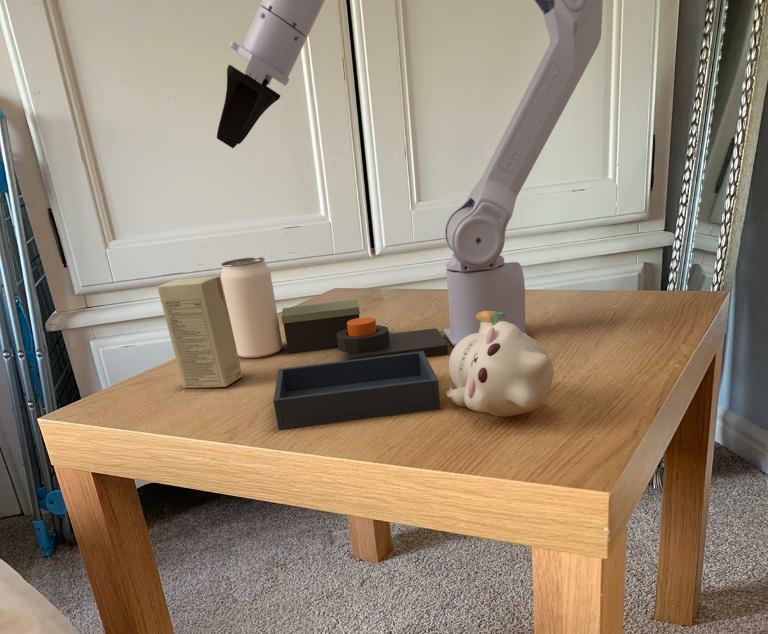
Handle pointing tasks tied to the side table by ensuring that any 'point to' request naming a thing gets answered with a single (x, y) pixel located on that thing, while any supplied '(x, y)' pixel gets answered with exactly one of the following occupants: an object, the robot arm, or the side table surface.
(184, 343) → the cosmetic box
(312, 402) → the tray
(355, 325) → the button
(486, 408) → the cat figurine
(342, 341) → the control block
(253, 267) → the can
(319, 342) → the green-topped black block
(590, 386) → the side table surface
